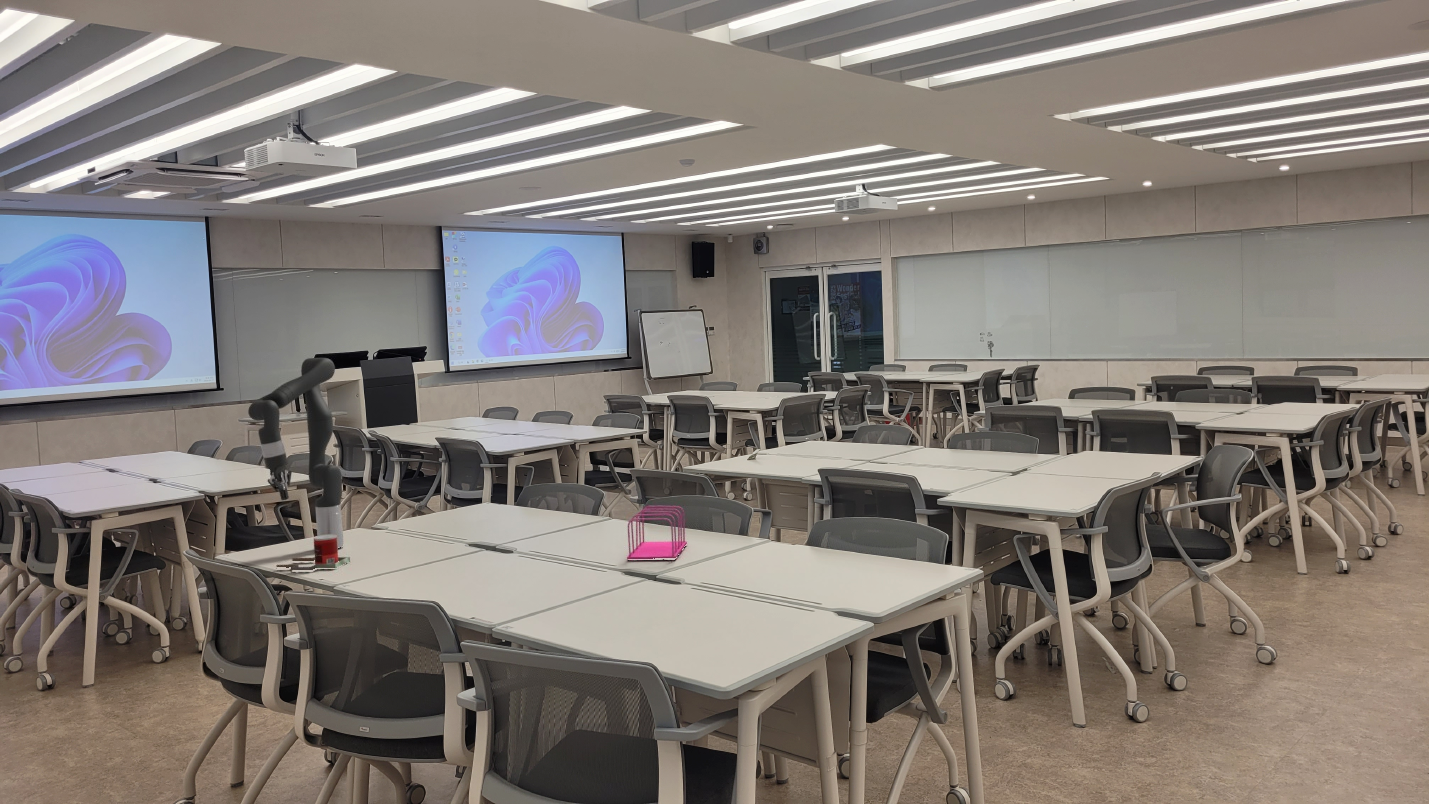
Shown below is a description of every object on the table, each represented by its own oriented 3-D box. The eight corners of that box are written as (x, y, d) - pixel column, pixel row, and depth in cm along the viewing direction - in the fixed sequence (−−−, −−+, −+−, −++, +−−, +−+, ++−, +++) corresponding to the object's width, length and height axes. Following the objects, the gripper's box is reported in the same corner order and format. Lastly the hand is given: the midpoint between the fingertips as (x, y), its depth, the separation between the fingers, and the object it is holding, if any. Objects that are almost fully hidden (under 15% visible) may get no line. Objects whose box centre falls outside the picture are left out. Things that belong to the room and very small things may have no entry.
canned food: (342, 563, 355) (340, 534, 354) (332, 568, 347) (330, 538, 346) (322, 564, 356) (320, 534, 355) (311, 569, 348) (309, 539, 347)
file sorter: (687, 545, 363) (685, 504, 362) (675, 561, 338) (673, 516, 337) (641, 546, 365) (639, 505, 364) (626, 561, 341) (624, 517, 340)
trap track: (298, 560, 363) (298, 555, 363) (355, 559, 360) (354, 554, 360) (270, 573, 344) (270, 567, 344) (329, 572, 342) (329, 566, 342)
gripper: (274, 456, 348) (285, 503, 351) (293, 448, 361) (303, 493, 364) (254, 459, 349) (266, 505, 352) (274, 451, 362) (285, 496, 365)
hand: (285, 499), depth 358 cm, fingers closed
